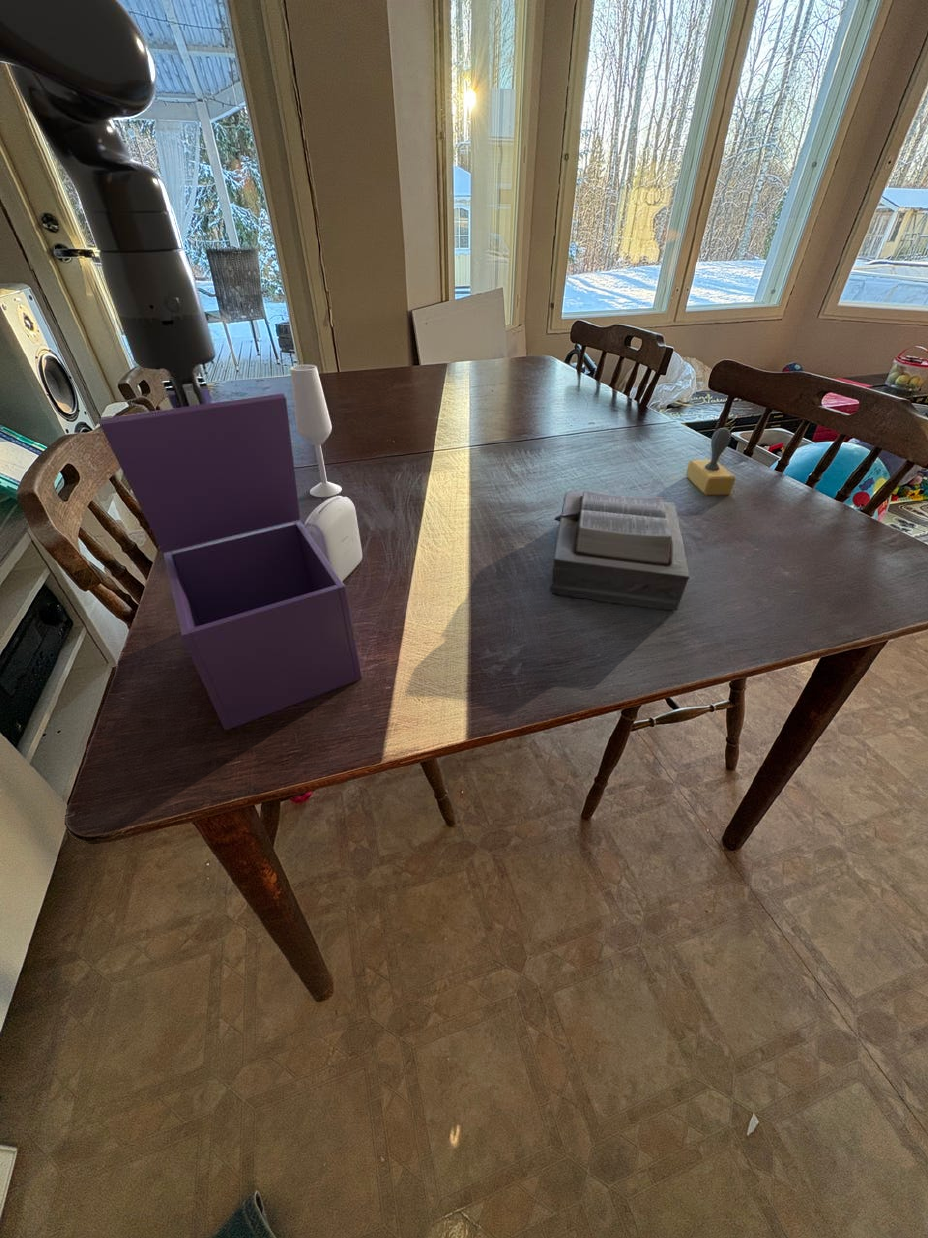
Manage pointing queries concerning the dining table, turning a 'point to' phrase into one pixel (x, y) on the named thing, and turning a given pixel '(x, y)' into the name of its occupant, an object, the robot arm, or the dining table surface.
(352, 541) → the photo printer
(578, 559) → the bible
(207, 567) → the box
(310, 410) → the champagne flute
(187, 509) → the lid
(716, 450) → the rubber stamp
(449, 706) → the dining table surface
